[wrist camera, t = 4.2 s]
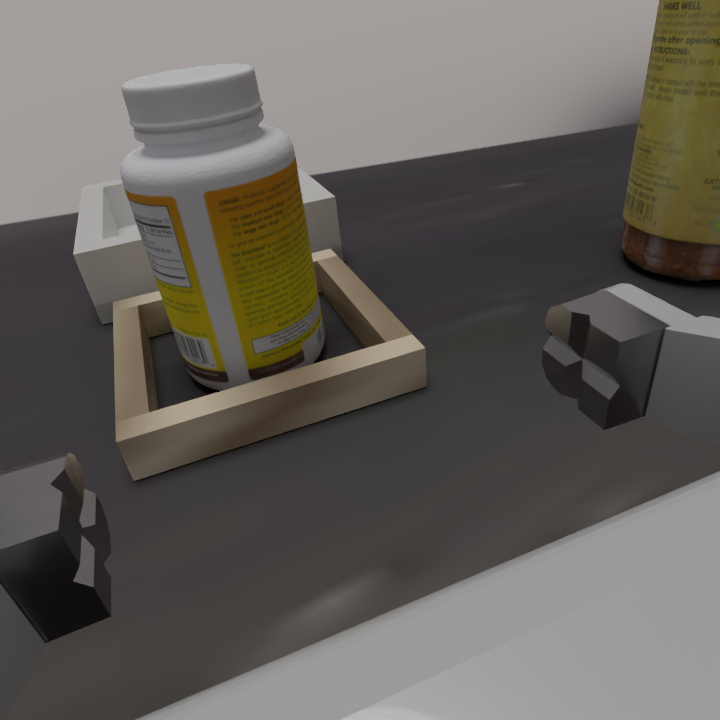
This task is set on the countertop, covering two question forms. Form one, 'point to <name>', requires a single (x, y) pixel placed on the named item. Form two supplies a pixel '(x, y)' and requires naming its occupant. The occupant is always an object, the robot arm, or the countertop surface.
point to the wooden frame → (262, 397)
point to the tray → (128, 255)
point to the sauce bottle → (678, 148)
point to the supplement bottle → (222, 224)
